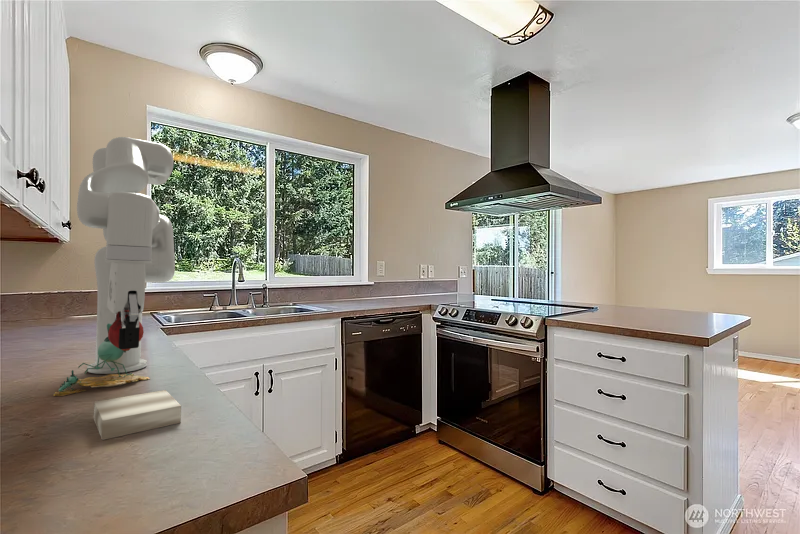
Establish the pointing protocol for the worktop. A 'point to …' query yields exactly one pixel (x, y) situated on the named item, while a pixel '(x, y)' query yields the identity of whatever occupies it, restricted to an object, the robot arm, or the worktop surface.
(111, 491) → the worktop surface
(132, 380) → the frog figurine
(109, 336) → the onion
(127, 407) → the white rectangular block
